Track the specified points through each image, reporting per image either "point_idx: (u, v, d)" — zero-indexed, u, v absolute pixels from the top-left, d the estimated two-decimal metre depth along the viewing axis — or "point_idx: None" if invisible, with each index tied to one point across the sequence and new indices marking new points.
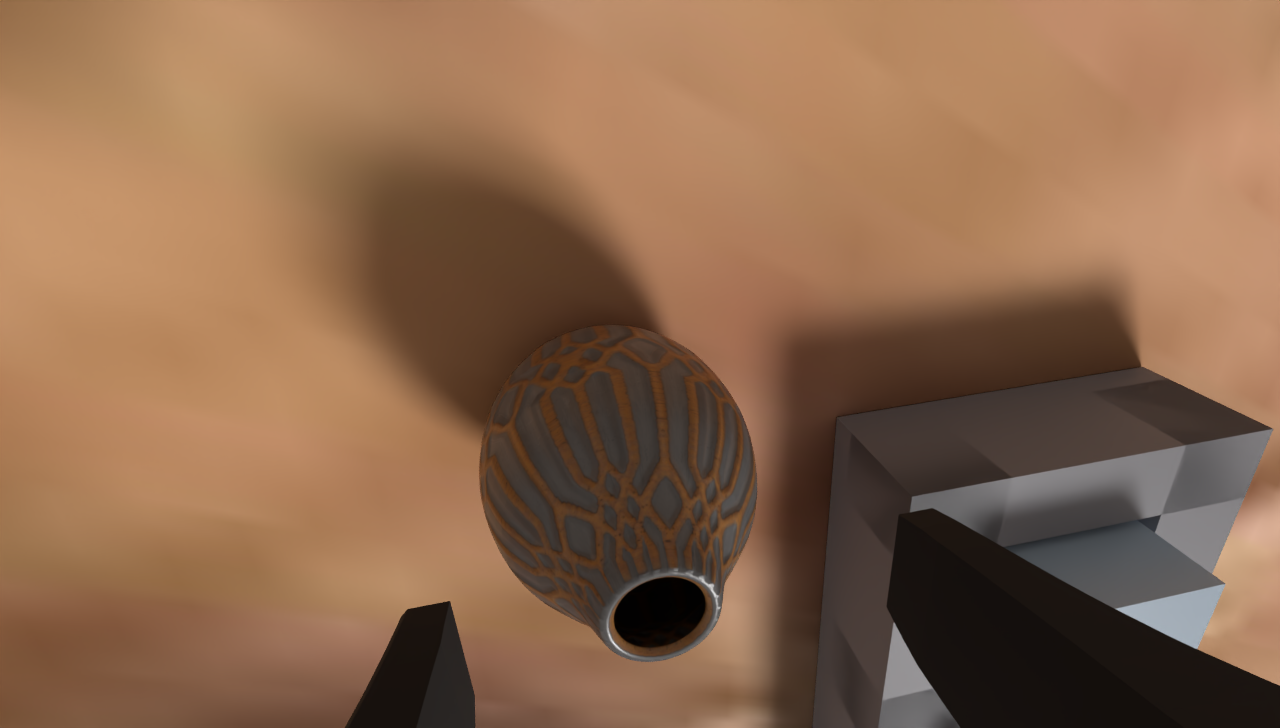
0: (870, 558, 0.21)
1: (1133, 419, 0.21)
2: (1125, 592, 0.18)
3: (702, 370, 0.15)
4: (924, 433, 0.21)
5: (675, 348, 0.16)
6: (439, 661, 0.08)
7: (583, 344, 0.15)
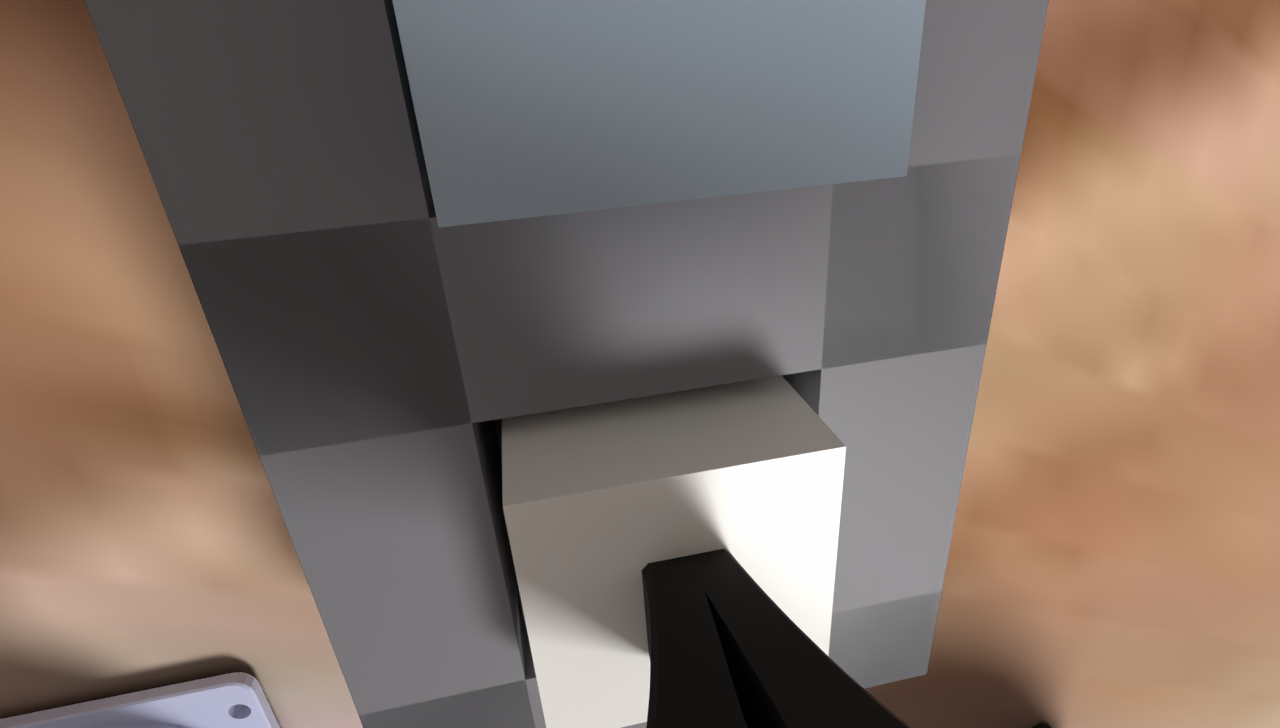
0: None
1: None
2: None
3: None
4: None
5: None
6: None
7: None
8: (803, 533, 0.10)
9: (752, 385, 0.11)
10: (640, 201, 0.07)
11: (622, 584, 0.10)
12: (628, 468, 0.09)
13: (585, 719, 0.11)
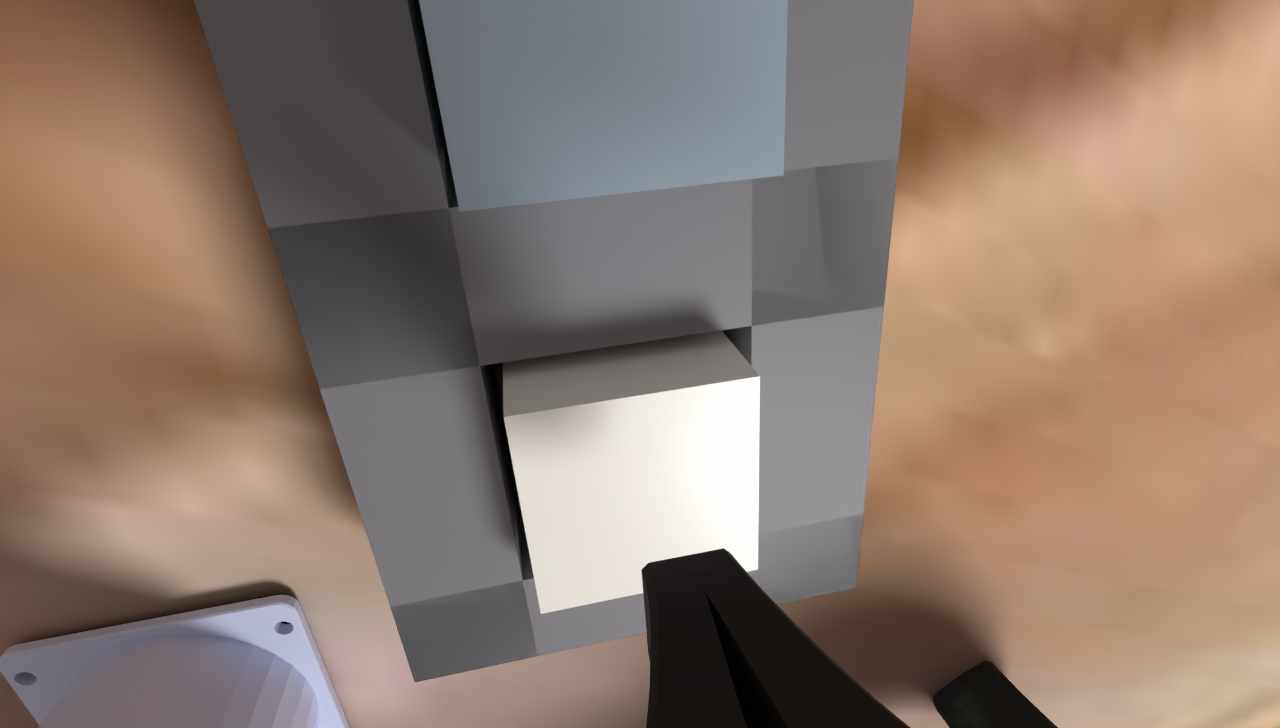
0: None
1: None
2: None
3: None
4: None
5: None
6: None
7: None
8: (731, 445, 0.13)
9: (698, 338, 0.15)
10: (596, 193, 0.10)
11: (593, 481, 0.13)
12: (596, 392, 0.13)
13: (568, 594, 0.14)
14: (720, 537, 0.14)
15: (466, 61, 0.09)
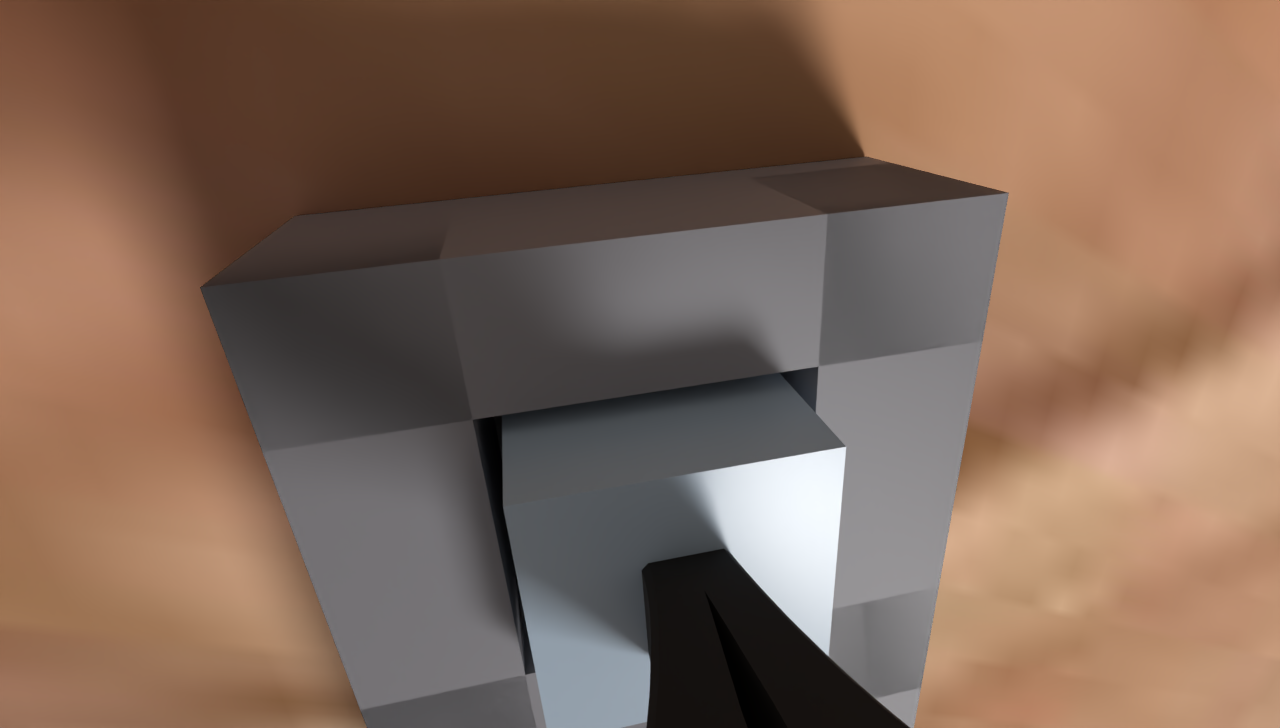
0: None
1: (774, 196, 0.11)
2: (651, 463, 0.09)
3: None
4: (396, 223, 0.11)
5: None
6: None
7: None
8: None
9: None
10: None
11: None
12: None
13: None
14: None
15: (563, 657, 0.10)
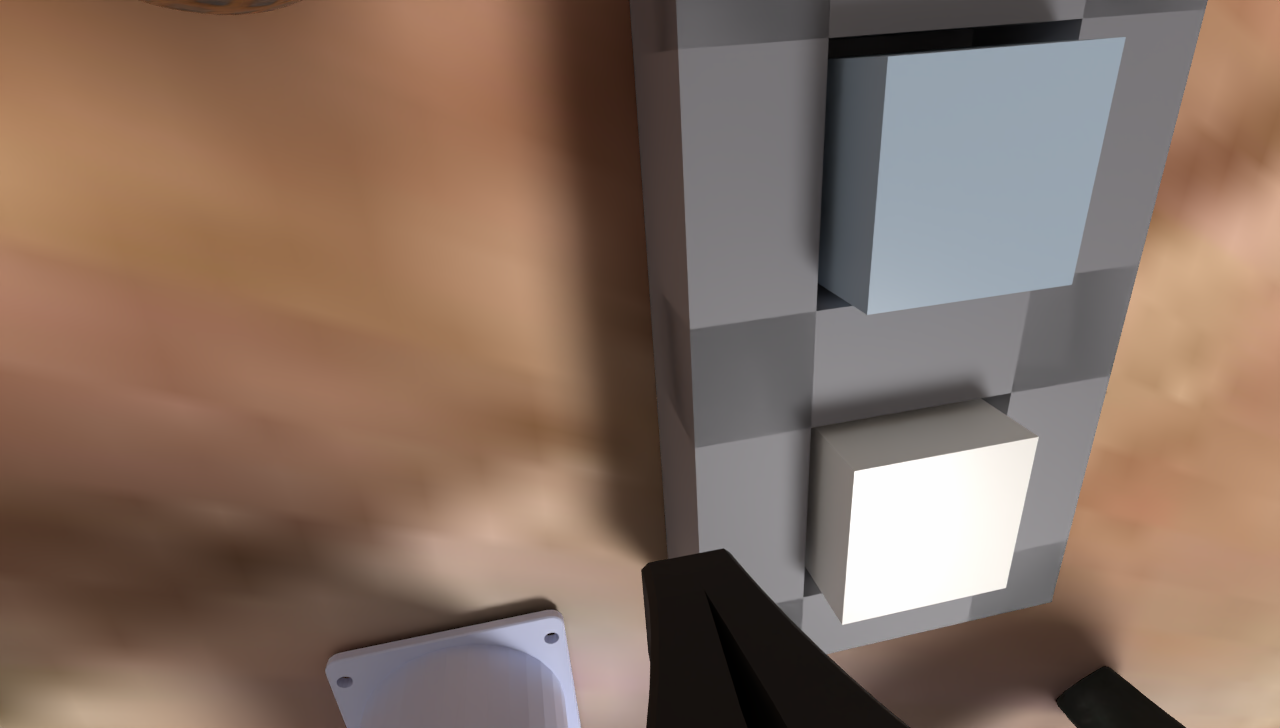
0: (661, 105, 0.14)
1: None
2: (979, 48, 0.12)
3: None
4: None
5: None
6: None
7: None
8: (1007, 489, 0.17)
9: None
10: (953, 300, 0.14)
11: (904, 519, 0.17)
12: (914, 450, 0.16)
13: (865, 609, 0.18)
14: (984, 562, 0.18)
15: (895, 220, 0.13)
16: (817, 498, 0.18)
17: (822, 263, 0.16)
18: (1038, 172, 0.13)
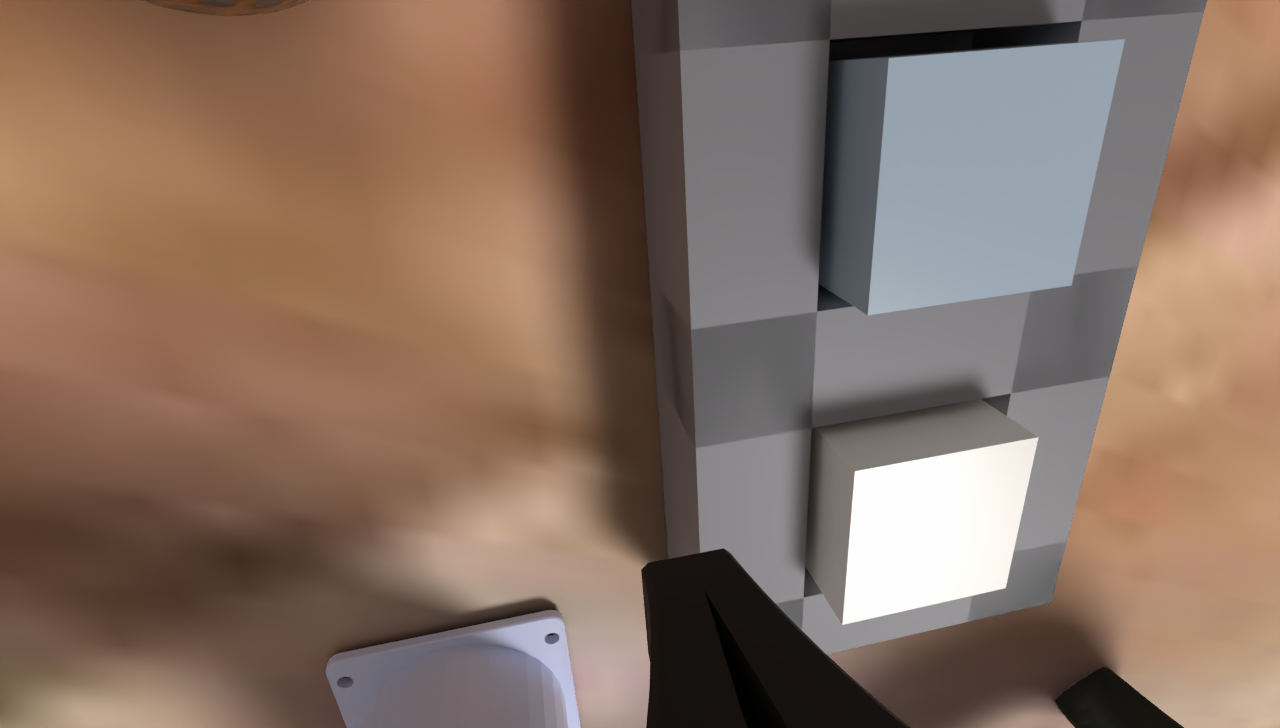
0: (663, 106, 0.14)
1: None
2: (979, 50, 0.13)
3: None
4: None
5: None
6: None
7: None
8: (1007, 490, 0.17)
9: None
10: (953, 301, 0.14)
11: (904, 520, 0.17)
12: (914, 450, 0.16)
13: (865, 609, 0.18)
14: (984, 562, 0.18)
15: (896, 221, 0.13)
16: (817, 498, 0.18)
17: (823, 264, 0.16)
18: (1038, 173, 0.13)
